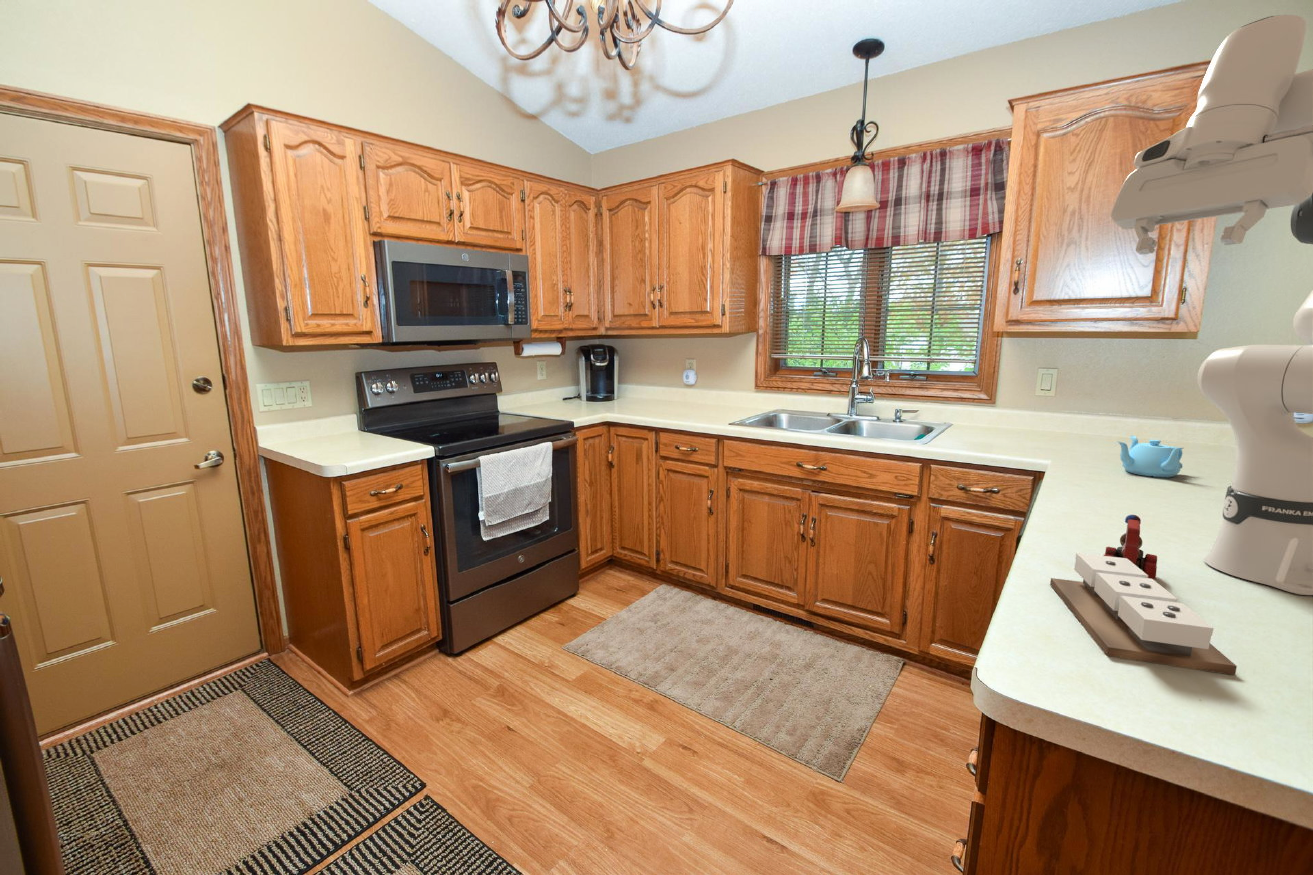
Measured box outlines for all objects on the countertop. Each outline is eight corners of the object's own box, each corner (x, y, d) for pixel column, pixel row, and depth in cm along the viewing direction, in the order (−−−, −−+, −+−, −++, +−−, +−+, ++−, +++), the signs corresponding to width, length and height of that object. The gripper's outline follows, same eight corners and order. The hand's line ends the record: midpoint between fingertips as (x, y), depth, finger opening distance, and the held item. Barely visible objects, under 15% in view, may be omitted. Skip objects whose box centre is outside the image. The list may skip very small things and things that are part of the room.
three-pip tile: (1178, 622, 75) (1182, 601, 74) (1209, 649, 69) (1213, 626, 68) (1117, 614, 77) (1120, 594, 76) (1141, 639, 71) (1144, 617, 70)
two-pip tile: (1149, 596, 82) (1152, 577, 82) (1174, 618, 76) (1177, 597, 75) (1093, 589, 84) (1096, 571, 84) (1113, 610, 78) (1116, 590, 78)
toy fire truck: (1154, 571, 99) (1164, 514, 97) (1153, 595, 89) (1164, 533, 88) (1103, 561, 103) (1112, 506, 101) (1098, 583, 94) (1107, 523, 92)
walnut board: (1146, 596, 89) (1149, 577, 88) (1234, 675, 68) (1240, 650, 68) (1049, 584, 93) (1052, 566, 92) (1106, 655, 73) (1110, 632, 72)
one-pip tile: (1124, 574, 90) (1127, 557, 89) (1145, 593, 83) (1148, 574, 83) (1073, 569, 92) (1076, 551, 91) (1090, 586, 86) (1093, 567, 85)
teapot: (1188, 475, 167) (1194, 441, 166) (1176, 482, 158) (1183, 446, 156) (1125, 466, 179) (1130, 434, 177) (1111, 472, 170) (1117, 439, 168)
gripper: (1348, 132, 67) (1304, 246, 67) (1146, 176, 85) (1114, 265, 86) (1326, 106, 64) (1281, 224, 65) (1123, 157, 83) (1090, 248, 83)
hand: (1184, 248), depth 76 cm, fingers open, 8 cm apart
